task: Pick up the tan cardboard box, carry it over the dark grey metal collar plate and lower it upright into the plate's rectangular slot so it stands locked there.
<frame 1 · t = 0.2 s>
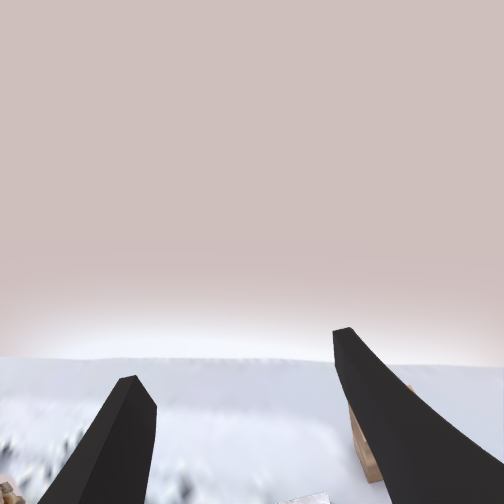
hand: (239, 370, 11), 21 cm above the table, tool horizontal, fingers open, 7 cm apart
tan cardboard box: (389, 456, 26), on the table
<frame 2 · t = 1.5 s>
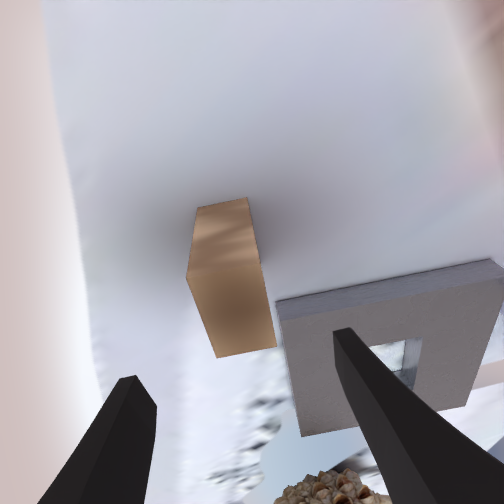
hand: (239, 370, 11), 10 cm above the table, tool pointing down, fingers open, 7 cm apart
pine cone: (345, 469, 39), on the table
collar plate: (377, 351, 26), on the table
tan cardboard box: (231, 238, 19), on the table
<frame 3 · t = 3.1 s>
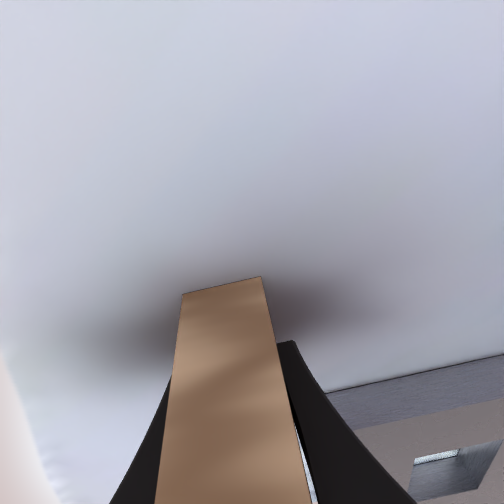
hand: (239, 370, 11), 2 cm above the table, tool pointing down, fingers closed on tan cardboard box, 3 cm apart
collar plate: (429, 440, 20), on the table
tan cardboard box: (236, 330, 13), on the table, touching gripper
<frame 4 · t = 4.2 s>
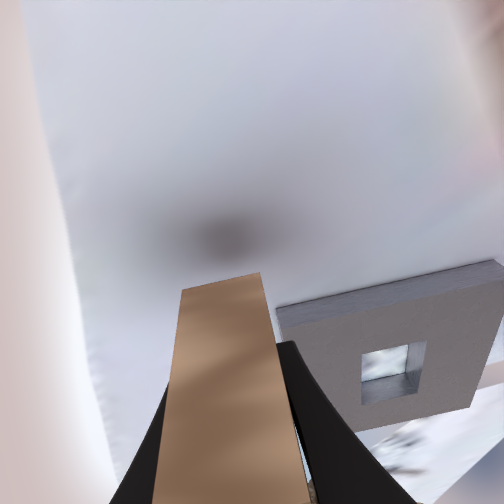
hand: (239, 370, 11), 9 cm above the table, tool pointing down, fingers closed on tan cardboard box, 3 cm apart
collar plate: (380, 354, 26), on the table
tan cardboard box: (235, 326, 13), point 7 cm above the table, touching gripper
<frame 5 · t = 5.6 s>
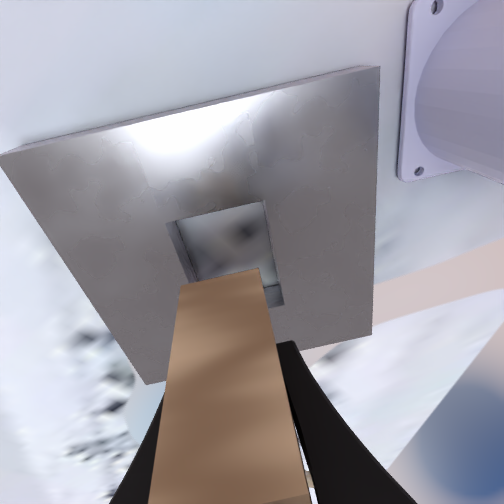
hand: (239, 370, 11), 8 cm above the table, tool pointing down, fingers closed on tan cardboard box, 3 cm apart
collar plate: (229, 249, 18), on the table
tan cardboard box: (234, 322, 13), point 6 cm above the table, touching gripper
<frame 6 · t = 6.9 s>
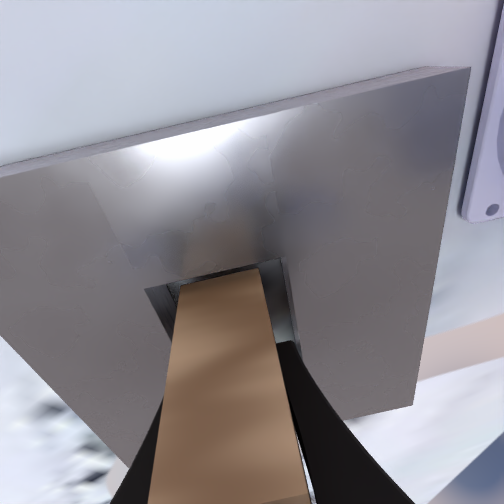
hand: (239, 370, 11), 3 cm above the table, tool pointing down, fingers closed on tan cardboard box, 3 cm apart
collar plate: (234, 306, 14), on the table
tan cardboard box: (234, 322, 13), point 1 cm above the table, touching gripper
when the fingers open (3 cm above the table, at t = 7.0 s): tan cardboard box drops 1 cm, resting in collar plate.
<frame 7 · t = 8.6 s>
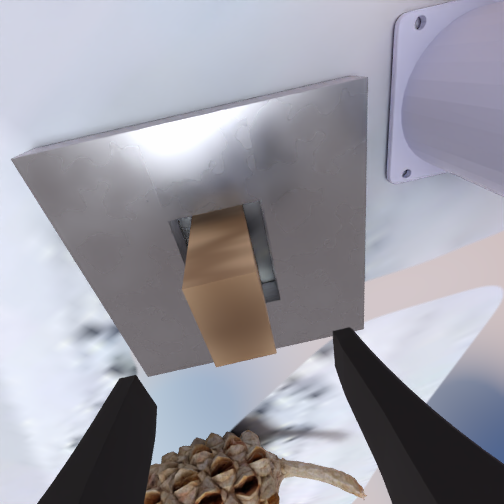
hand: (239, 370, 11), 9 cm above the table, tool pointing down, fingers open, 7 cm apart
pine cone: (251, 432, 32), on the table
collar plate: (228, 247, 19), on the table
tan cardboard box: (227, 243, 19), resting in collar plate
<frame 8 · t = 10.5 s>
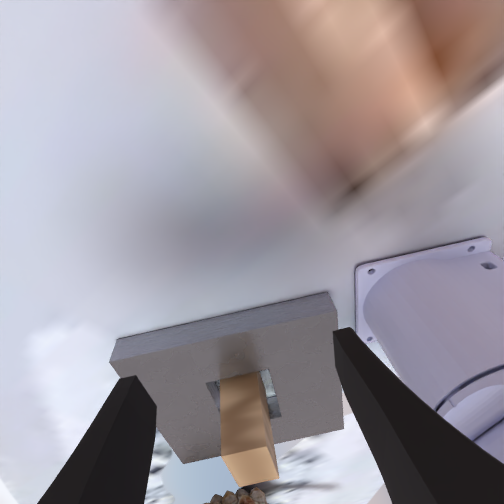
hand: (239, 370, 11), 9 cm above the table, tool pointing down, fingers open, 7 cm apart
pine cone: (258, 486, 39), on the table
collar plate: (244, 379, 26), on the table
tan cardboard box: (243, 377, 26), resting in collar plate
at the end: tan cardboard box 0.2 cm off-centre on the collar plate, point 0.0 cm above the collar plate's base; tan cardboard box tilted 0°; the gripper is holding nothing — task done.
